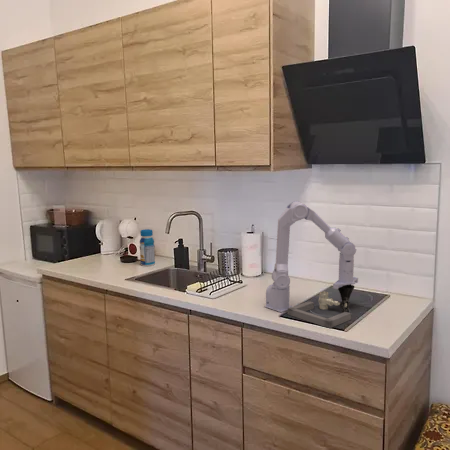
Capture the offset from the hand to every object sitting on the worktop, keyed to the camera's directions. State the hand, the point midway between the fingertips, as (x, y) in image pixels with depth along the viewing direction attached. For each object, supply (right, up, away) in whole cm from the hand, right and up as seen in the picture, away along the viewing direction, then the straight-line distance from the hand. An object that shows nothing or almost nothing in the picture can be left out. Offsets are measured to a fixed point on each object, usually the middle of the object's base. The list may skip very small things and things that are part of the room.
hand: (345, 302), depth 192 cm
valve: (-6, -3, -3) cm, 7 cm away
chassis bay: (-13, -4, -11) cm, 17 cm away
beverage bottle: (-93, +9, +77) cm, 122 cm away
